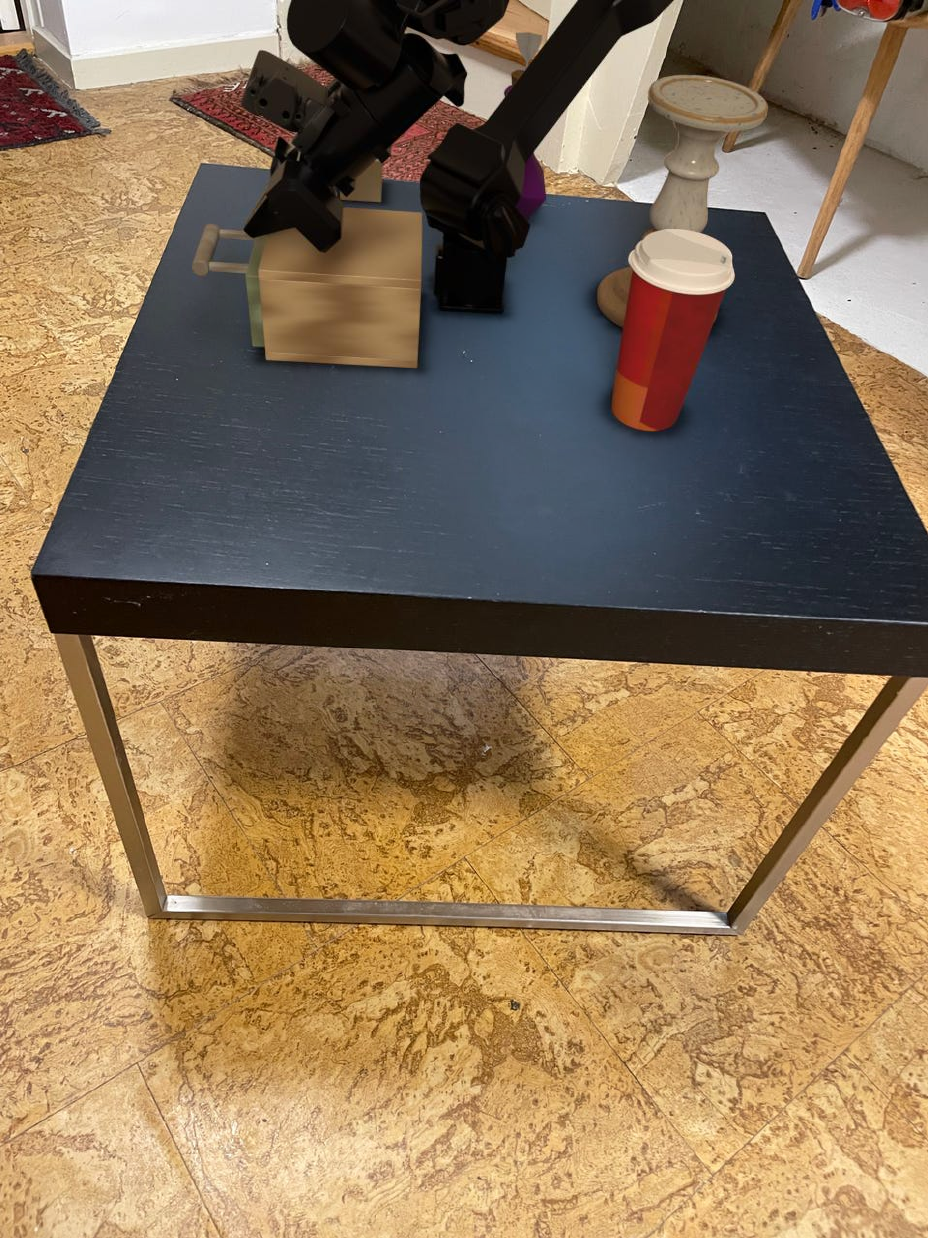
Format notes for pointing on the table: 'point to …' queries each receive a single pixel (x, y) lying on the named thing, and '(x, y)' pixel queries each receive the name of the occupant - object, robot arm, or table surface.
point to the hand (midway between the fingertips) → (247, 232)
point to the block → (367, 185)
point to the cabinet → (345, 292)
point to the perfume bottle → (533, 171)
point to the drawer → (235, 271)
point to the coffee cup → (667, 323)
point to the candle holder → (687, 160)
